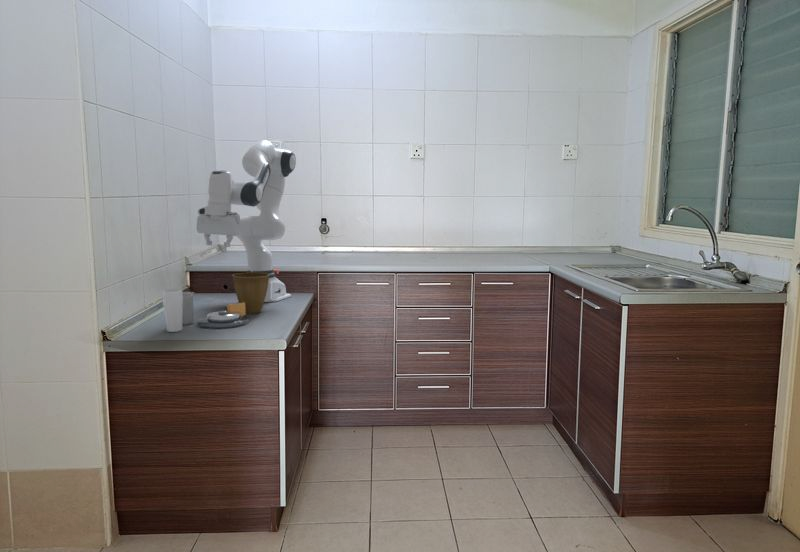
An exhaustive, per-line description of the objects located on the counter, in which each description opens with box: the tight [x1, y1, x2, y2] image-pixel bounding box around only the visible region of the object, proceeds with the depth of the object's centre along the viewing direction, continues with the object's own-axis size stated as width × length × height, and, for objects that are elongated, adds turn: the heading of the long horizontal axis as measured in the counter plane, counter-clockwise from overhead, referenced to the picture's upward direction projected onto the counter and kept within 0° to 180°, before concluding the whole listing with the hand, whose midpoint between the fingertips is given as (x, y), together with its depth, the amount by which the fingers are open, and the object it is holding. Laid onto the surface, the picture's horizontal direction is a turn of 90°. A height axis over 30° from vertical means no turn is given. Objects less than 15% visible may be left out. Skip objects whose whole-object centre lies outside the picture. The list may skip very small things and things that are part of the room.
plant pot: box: [232, 272, 269, 315], centre depth 244 cm, size 15×15×16 cm
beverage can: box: [182, 291, 195, 326], centre depth 223 cm, size 6×6×12 cm
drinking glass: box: [162, 288, 184, 333], centre depth 211 cm, size 7×7×15 cm
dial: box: [206, 301, 247, 323], centre depth 225 cm, size 16×12×5 cm
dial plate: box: [197, 315, 250, 330], centre depth 225 cm, size 19×19×2 cm
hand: (217, 246), depth 233 cm, fingers open, 8 cm apart
